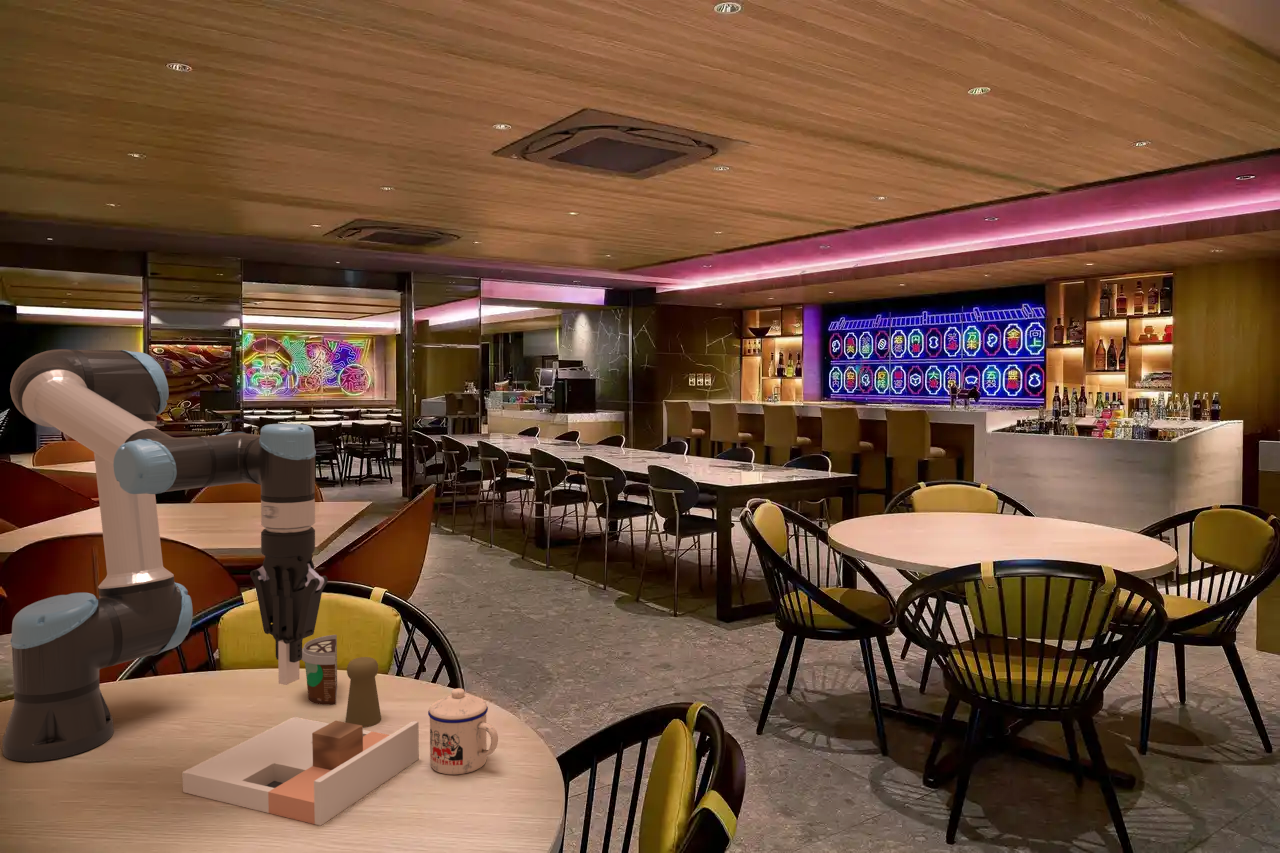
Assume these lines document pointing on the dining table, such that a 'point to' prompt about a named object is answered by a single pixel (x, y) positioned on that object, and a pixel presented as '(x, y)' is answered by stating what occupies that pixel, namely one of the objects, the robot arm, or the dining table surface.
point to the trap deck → (300, 771)
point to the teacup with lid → (459, 733)
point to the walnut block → (336, 744)
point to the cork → (363, 692)
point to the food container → (321, 669)
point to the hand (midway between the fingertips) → (289, 681)
